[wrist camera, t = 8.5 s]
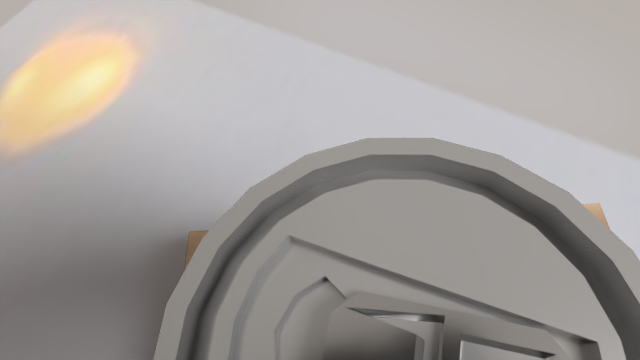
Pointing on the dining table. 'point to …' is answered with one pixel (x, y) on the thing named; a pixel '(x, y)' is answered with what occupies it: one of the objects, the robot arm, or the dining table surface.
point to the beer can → (405, 265)
